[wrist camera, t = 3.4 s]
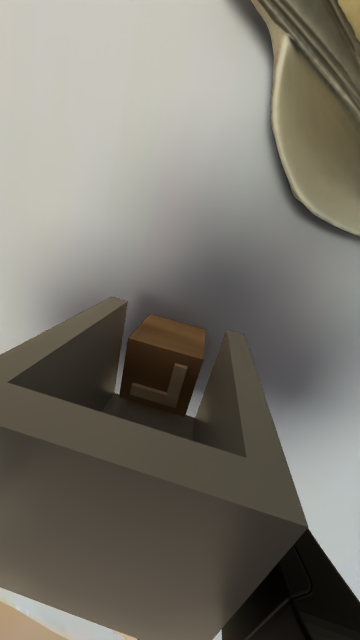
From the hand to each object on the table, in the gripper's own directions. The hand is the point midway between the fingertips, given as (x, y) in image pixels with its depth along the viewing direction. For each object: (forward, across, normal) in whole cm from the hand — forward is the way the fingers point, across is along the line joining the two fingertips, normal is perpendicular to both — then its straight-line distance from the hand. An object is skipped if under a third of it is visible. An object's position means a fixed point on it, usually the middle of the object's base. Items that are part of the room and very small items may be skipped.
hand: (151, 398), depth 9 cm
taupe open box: (+2, 0, 0) cm, 2 cm away
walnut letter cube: (+5, 0, 0) cm, 5 cm away
